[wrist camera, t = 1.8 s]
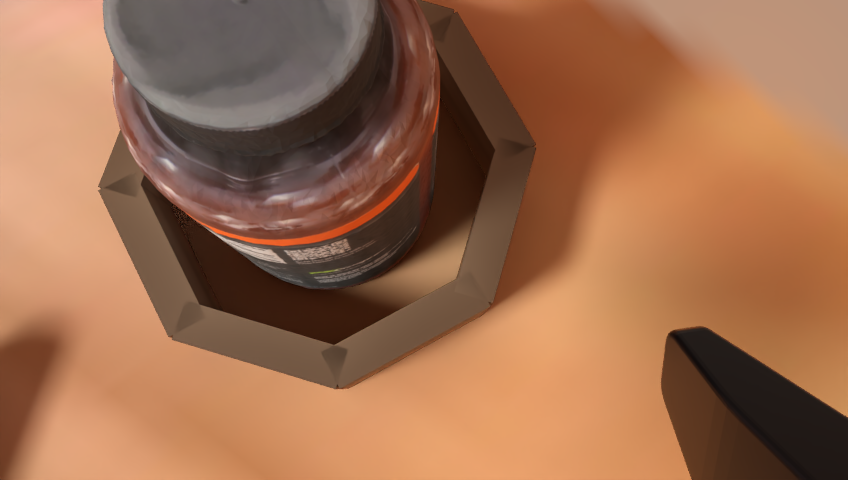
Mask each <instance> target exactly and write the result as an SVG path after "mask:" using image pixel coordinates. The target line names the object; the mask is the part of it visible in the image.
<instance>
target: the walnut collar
mask: <svg viewBox="0 0 848 480" xmlns="http://www.w3.org/2000/svg"><path fill="white" fill-rule="evenodd" d="M417 2H418V4H419V5H420V7H421V9H422V11H423V13H424V15H425V17H426V19H427V21H428V24H429V26H430V29H431V32H432V36H433V40H434V44H435V48H436V52H437V57H438V62H439V70H440V97H441V99H442V101H443V103H444V104H445V106H446V108H447V110H448V111H449V113H450V115H451V117H452V118H453V120H454V122H455V123H456V125H457V127H458V129H459V130H460V132H461V134H462V136H463V137H464V139H465V141H466V143H467V144H468V146H469V148H470V149H471V151H472V153H473V155H474V156H475V158H476V160H477V162H478V163H479V165H480V167H481V168H482V170H483V172H484V174H485V175H486V178H485V181H484V185H483V188H482V192H481V195H480V199H479V202H478V206H477V209H476V213H475V216H474V219H473V223H472V226H471V230H470V233H469V237H468V240H467V244H466V247H465V251H464V254H463V257H462V261H461V264H460V268H459V271H458V275H457V278H456V279H455V280H454V281H452V282H450V283H448V284H446V285H444V286H442V287H441V288H439V289H437V290H435V291H433V292H431V293H429V294H428V295H426V296H424V297H422V298H420V299H418V300H417V301H415V302H413V303H411V304H409V305H407V306H405V307H404V308H402V309H400V310H398V311H396V312H394V313H392V314H391V315H389V316H387V317H385V318H383V319H381V320H379V321H378V322H376V323H374V324H372V325H370V326H368V327H367V328H365V329H363V330H361V331H359V332H357V333H355V334H354V335H352V336H350V337H348V338H346V339H344V340H342V341H341V342H339V343H337V344H335V345H332V344H329V343H326V342H322V341H319V340H316V339H312V338H309V337H306V336H302V335H299V334H296V333H292V332H289V331H286V330H282V329H279V328H276V327H272V326H269V325H266V324H262V323H259V322H256V321H252V320H249V319H246V318H242V317H239V316H236V315H232V314H229V313H226V312H223V311H222V309H221V307H220V305H219V303H218V301H217V299H216V297H215V295H214V293H213V291H212V289H211V286H210V284H209V282H208V280H207V278H206V276H205V274H204V272H203V270H202V268H201V266H200V264H199V262H198V260H197V258H196V256H195V254H194V252H193V250H192V248H191V246H190V244H189V242H188V240H187V238H186V236H185V234H184V232H183V230H182V228H181V226H180V224H179V222H178V220H177V218H176V216H175V214H174V212H173V210H172V208H171V207H172V204H173V203H172V202H170V201H169V200H168V199H167V198H166V197H165V196H164V195H163V194H162V193H161V192H159V191H158V190H157V189H156V187H155V186H154V185H153V184H152V183H151V181H150V180H149V179H148V178H147V177H146V176H145V175H144V174H143V173H142V171H141V169H140V168H139V166H138V165H137V163H136V162H135V160H134V158H133V156H132V155H131V153H130V151H129V149H128V147H127V145H126V143H125V140H124V137H123V134H122V131H121V130H120V132H119V135H118V137H117V140H116V143H115V145H114V148H113V150H112V153H111V155H110V158H109V160H108V163H107V166H106V168H105V171H104V173H103V176H102V178H101V181H100V183H99V186H98V187H100V188H101V189H100V190H98V191H99V193H100V195H101V197H102V199H103V201H104V203H105V205H106V207H107V210H108V212H109V214H110V216H111V218H112V220H113V222H114V224H115V226H116V228H117V230H118V233H119V235H120V237H121V239H122V241H123V243H124V245H125V247H126V249H127V251H128V253H129V255H130V258H131V260H132V262H133V264H134V266H135V268H136V270H137V272H138V274H139V276H140V278H141V280H142V283H143V285H144V287H145V289H146V291H147V293H148V295H149V297H150V299H151V301H152V303H153V306H154V308H155V310H156V312H157V314H158V316H159V318H160V320H161V322H162V324H163V326H164V328H165V331H166V333H167V335H168V337H171V338H172V340H175V341H178V342H181V343H185V344H188V345H191V346H195V347H198V348H201V349H204V350H208V351H211V352H214V353H218V354H221V355H224V356H228V357H231V358H234V359H238V360H241V361H244V362H247V363H251V364H254V365H257V366H261V367H264V368H267V369H271V370H274V371H277V372H281V373H284V374H287V375H290V376H294V377H297V378H300V379H304V380H307V381H310V382H314V383H317V384H320V385H324V386H327V387H330V388H333V389H348V388H350V387H352V386H354V385H356V384H357V383H359V382H361V381H363V380H365V379H367V378H368V377H370V376H372V375H374V374H376V373H378V372H379V371H381V370H383V369H385V368H387V367H388V366H390V365H392V364H394V363H396V362H398V361H399V360H401V359H403V358H405V357H407V356H409V355H410V354H412V353H414V352H416V351H418V350H419V349H421V348H423V347H425V346H427V345H429V344H430V343H432V342H434V341H436V340H438V339H440V338H441V337H443V336H445V335H447V334H449V333H451V332H452V331H454V330H456V329H458V328H460V327H461V326H463V325H465V324H467V323H469V322H471V321H472V320H474V319H476V318H478V317H480V316H481V315H482V314H483V313H484V312H485V311H486V310H487V309H488V308H489V307H490V306H491V305H492V304H493V301H494V298H495V294H496V290H497V287H498V283H499V280H500V276H501V273H502V269H503V265H504V262H505V258H506V255H507V251H508V247H509V244H510V240H511V237H512V233H513V229H514V226H515V222H516V219H517V215H518V211H519V208H520V204H521V201H522V197H523V193H524V190H525V186H526V183H527V179H528V176H529V172H530V168H531V165H532V161H533V158H534V154H535V150H536V148H535V145H536V144H535V142H534V140H533V139H532V137H531V135H530V134H529V132H528V130H527V129H526V127H525V125H524V124H523V122H522V120H521V118H520V117H519V115H518V113H517V112H516V110H515V108H514V107H513V105H512V103H511V102H510V100H509V98H508V97H507V95H506V93H505V92H504V90H503V88H502V87H501V85H500V83H499V81H498V80H497V78H496V76H495V75H494V73H493V71H492V70H491V68H490V66H489V65H488V63H487V61H486V60H485V58H484V56H483V55H482V53H481V51H480V50H479V48H478V46H477V44H476V43H475V41H474V39H473V38H472V36H471V34H470V33H469V31H468V29H467V28H466V26H465V24H464V23H463V21H462V19H461V18H460V16H459V14H458V13H457V12H455V13H454V9H450V8H447V7H443V6H440V5H436V4H432V3H429V2H425V1H422V0H417Z"/></svg>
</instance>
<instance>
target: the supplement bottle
mask: <svg viewBox="0 0 848 480" xmlns="http://www.w3.org/2000/svg"><path fill="white" fill-rule="evenodd" d="M103 17H104V30H105V33H106V37H107V40H108V43H109V46H110V49H111V52H112V54H113V56H114V61H113V77H112V85H113V100H114V106H115V109H116V114H117V118H118V122H119V126H120V129H121V131H122V134H123V137H124V140H125V143H126V145H127V147H128V149H129V151H130V153H131V155H132V156H133V158H134V160H135V162H136V163H137V165H138V166H139V168H140V169H141V171H142V173H143V174H144V175H145V176H146V177H147V178H148V179H149V180H150V181H151V183H152V184H153V185H154V186H155V187H156V189H157V190H158V191H159V192H161V193H162V194H163V195H164V196H165V197H166V198H167V199H168V200H169V201H170V202H172V203H173V204H174V205H176V206H177V207H178V208H180V209H181V210H182V211H184V212H185V213H186V214H188V215H189V216H190V217H191V218H193V219H194V220H195V221H196V222H198V223H199V224H201V225H202V226H204V227H205V228H206V229H208V230H209V231H211V232H212V233H213V234H215V235H216V236H218V237H219V238H220V239H222V240H223V241H224V242H226V243H227V244H228V245H230V246H231V247H233V248H234V249H235V250H236V251H238V252H239V253H240V254H242V255H243V256H245V257H246V258H248V259H249V260H250V261H252V262H253V263H254V264H255V265H257V266H258V267H260V268H261V269H263V270H264V271H266V272H268V273H270V274H271V275H273V276H275V277H277V278H279V279H281V280H283V281H286V282H289V283H292V284H294V285H297V286H302V287H305V288H307V289H325V290H332V289H343V288H346V287H353V286H356V285H360V284H363V283H365V282H367V281H369V280H371V279H374V278H376V277H378V276H380V275H382V274H383V273H384V272H386V271H388V270H389V269H391V268H392V267H394V266H395V265H396V264H397V263H398V262H399V261H400V260H401V259H402V258H403V257H404V256H405V255H406V254H407V253H408V251H409V250H410V249H411V248H412V246H413V245H414V244H415V242H416V241H417V239H418V237H419V235H420V234H421V232H422V230H423V228H424V225H425V223H426V220H427V217H428V214H429V211H430V208H431V203H432V200H433V194H434V179H435V167H436V151H437V136H438V123H439V99H440V70H439V62H438V57H437V52H436V48H435V44H434V40H433V36H432V32H431V29H430V26H429V24H428V21H427V19H426V17H425V15H424V13H423V11H422V9H421V7H420V5H419V4H418V2H417V0H103Z"/></svg>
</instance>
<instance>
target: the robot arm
mask: <svg viewBox="0 0 848 480" xmlns="http://www.w3.org/2000/svg"><path fill="white" fill-rule="evenodd" d="M661 388H662V394H663V399H664V402H665V405H666V408H667V410H668V413H669V416H670V419H671V422H672V425H673V428H674V430H675V433H676V436H677V439H678V442H679V445H680V448H681V450H682V453H683V456H684V459H685V462H686V465H687V468H688V471H689V473H690V476H691V479H692V480H848V418H847V417H846V416H844V415H843V414H841V413H840V412H838V411H837V410H835V409H833V408H832V407H830V406H829V405H827V404H826V403H824V402H822V401H821V400H819V399H818V398H816V397H815V396H813V395H812V394H810V393H808V392H807V391H805V390H804V389H802V388H801V387H799V386H797V385H796V384H794V383H793V382H791V381H790V380H788V379H787V378H785V377H783V376H782V375H780V374H779V373H777V372H776V371H774V370H773V369H771V368H769V367H768V366H766V365H765V364H763V363H762V362H760V361H758V360H757V359H755V358H754V357H752V356H751V355H749V354H748V353H746V352H744V351H743V350H741V349H740V348H738V347H737V346H735V345H733V344H732V343H730V342H729V341H727V340H726V339H724V338H723V337H721V336H719V335H718V334H716V333H715V332H713V331H712V330H710V329H708V328H706V327H702V326H697V327H691V328H684V329H677V330H673V331H671V332H670V333H669V334H668V336H667V338H666V344H665V352H664V361H663V369H662V377H661Z"/></svg>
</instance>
